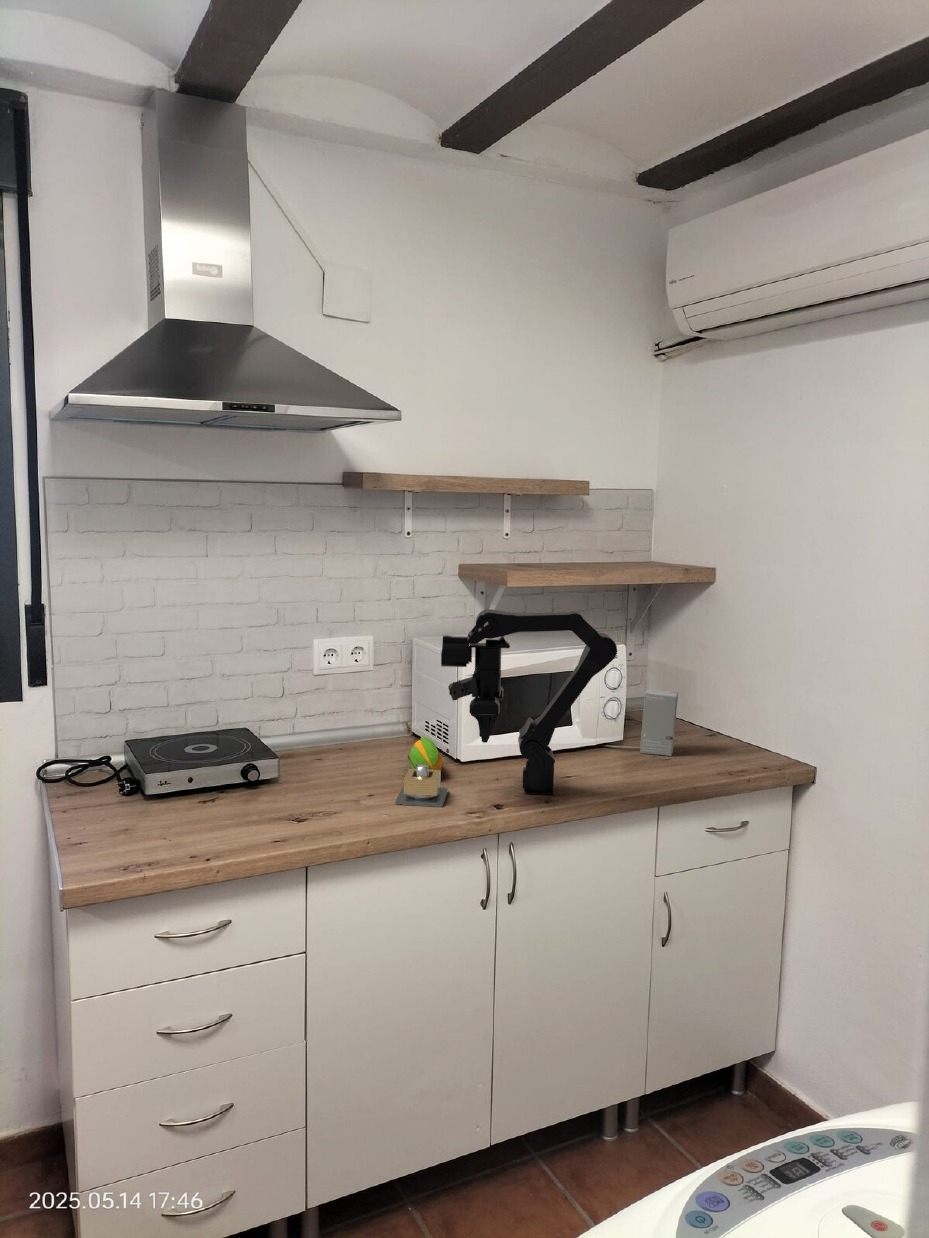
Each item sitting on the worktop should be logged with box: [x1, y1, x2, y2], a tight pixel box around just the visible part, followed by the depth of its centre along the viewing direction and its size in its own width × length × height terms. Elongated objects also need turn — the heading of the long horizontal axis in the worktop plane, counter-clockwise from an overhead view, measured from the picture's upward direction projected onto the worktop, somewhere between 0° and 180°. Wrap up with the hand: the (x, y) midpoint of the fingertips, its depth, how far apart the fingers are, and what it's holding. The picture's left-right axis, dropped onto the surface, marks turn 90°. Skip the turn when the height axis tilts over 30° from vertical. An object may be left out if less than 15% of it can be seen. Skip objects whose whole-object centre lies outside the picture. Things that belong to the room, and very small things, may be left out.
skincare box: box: [639, 688, 679, 757], centre depth 234 cm, size 8×7×16 cm
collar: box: [403, 768, 442, 796], centre depth 196 cm, size 7×7×4 cm
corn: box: [407, 736, 444, 771], centre depth 216 cm, size 7×8×20 cm
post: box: [394, 765, 449, 808], centre depth 196 cm, size 10×10×7 cm
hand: (486, 736), depth 201 cm, fingers open, 9 cm apart
